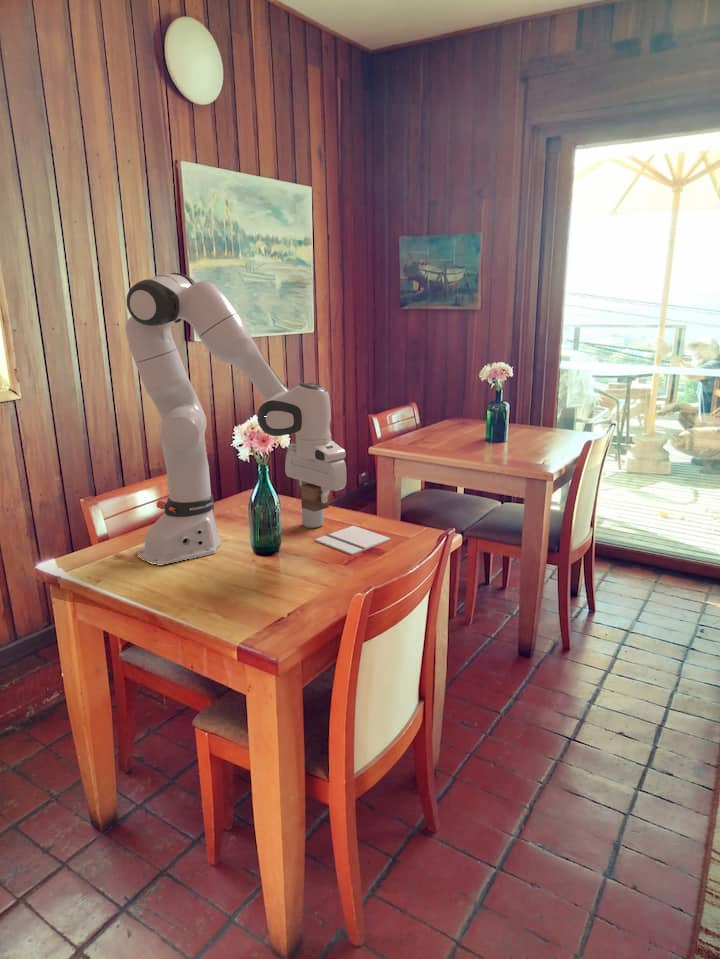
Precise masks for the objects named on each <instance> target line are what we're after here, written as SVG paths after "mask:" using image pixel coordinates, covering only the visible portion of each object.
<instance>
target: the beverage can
mask: <svg viewBox="0 0 720 959" xmlns="http://www.w3.org/2000/svg"><path fill="white" fill-rule="evenodd" d="M324 517H325V514H324V509H322V510H319V511H316V512H313V511H310V510H308V509H305V508H302V507H301V519H302V521H301V522H302V525H303V526H304V527H305V528H307V529H317V528H321V526H323V524H325V521H324V520H325V519H324Z"/></svg>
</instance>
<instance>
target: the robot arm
mask: <svg viewBox="0 0 720 959" xmlns="http://www.w3.org/2000/svg"><path fill="white" fill-rule="evenodd" d="M126 306H127V310H128V313H129V314H130V317H129V318H128V319H127V321H126V322H125V334H126V338H127V343H128V346H129V349H130V353H131V355H132V358H133V361H134V363H135V366H136V368H137V372H138V373H139V376H140V378H141V381H142V383H143V386H144V388H145V390H146V393H147V394H148V395H149V397H150V399H151V400H152V402H153V404H154V406H155V407H156V409H157V412H158V413H159V415H160V417H161V422H160V425H159V431H158V432H159V439H160V446H161V451H162V455H163V461H164V463H165V464H164V465H165V468H166V470H165V471H166V477H167V489H168V498H167V500H166V502H165V501H163V500H158V501H157V502H156V503H155V504H156V505H155V506H156V507H157V508H158V509H161V510H164V513H163V514H162V515H161V516H160V517H159V518H158V519H157V520H156V521H155V522H154V523H153V524H152V525H151V526H150V527H149V528H148V529H147V531H146V533H145V537H144V546H142V547H140V548H137V550H136V555H137V554H138V555H139V556H140V557H141V558H142V559H144V560H146V561H149V562H152V563H156V564H166V563H172V562H177V561H181V560H185V561H188V560H187V559H189V560H194V559H196V558H197V557H198V558H201V557H206V556H209V555H210V556H211V555H213V554H216V553H217V549H218V547H220V545H221V544H222V540H221V538H220V536H219V533H218V529H217V526H216V520H215V516H214V515H215V514H214V512H215V506H214V505H215V503H214V496H213V493H212V489H211V478H210V477H211V476H210V466H209V460H208V452H207V446H206V438H205V437H206V436H205V435H206V429H207V426H208V423H207V422H208V421H207V416H206V414H205V412H204V409H203V407H202V404H201V402H200V400H199V397H198V395H197V393H196V391H195V389H194V387H193V384H192V383H191V381H190V379H189V377H188V374H187V370H186V368H185V365H184V364H183V360H182V358H181V356H180V353H179V350H178V347H177V345H176V341H175V340H174V336H173V334H172V327H173V324H175V323H176V324H179V323H180V322H181V321H182V320H183V321H186V322H187V323H188V324H189V325H190V326H191V327H192V328H193V330H194V332H195V333H196V334H197V336H198V338H199V339H200V341H201V342H202V344H203V345H204V346H205V348H206V349H207V351H209V353H210V354H211V355H212V356H214V358H216V359H217V360H218V361H220V362H223V363H226V364H229V365H232V366H234V367H235V368H238V369H240V370H241V371H242V372H243V373H244V374H245V375H246V376H247V378H248V379H249V381H250V382H251V383H252V384H253V386H254V388H255V389H256V390H257V391H258V393H259V394H260V395H261V397H262V398H263V403H262V404H261V405H260V407H259V409H258V410H257V414H256V418H257V417H258V418H257V423H258V426H259V427H260V429H261V430H262V431H263V432H264V434H267V435H269V436H273V437H281V436H287V435H292V434H295V441H296V442H291V443H289V445H288V446H287V451H286V455H285V461H284V462H285V465H284V472H285V475H286V476H287V477H289V478H291V479H295V480H297V481H298V484H299V488H301V485H304V484H308V483H310V484H314V485H317V486H320V487H321V491H323V492H322V494H321V495H320V496H319V502H321V503H327V501H328V495H329V494H330V493H331V491H334V492H336V491H341V490H343V489H345V487H346V486H347V465H346V462H345V460H344V458H346V455H347V454H346V453H347V452H346V450H345V449H344V448H342V447H341V446H340V445H338V444H337V443H336V442H335V441H333V440H332V433H331V430H330V428H331V427H330V424H331V421H332V412H331V411H332V410H331V409H332V407H331V399H330V394H329V391H328V390H327V388H325V387H324V386H322V385H320V384H317V383H313V382H301V383H298V384H297V385H296V386H295V387H294V388H292V389H291V388H289V387H287V386H286V385H285V384H284V383H283V382H282V381H281V379H280V378H279V377H278V375H277V374H276V373H275V371H274V370H273V368H272V366H270V364H269V363H268V361H267V360H266V359H265V357H264V356H263V354H262V353H261V351H260V350H259V347H258V346H257V344H256V342H255V341H254V339H253V338H252V335H251V334H250V332H249V330H248V328H247V326H246V325H245V323H244V321H243V320H242V318H241V316H240V315H239V314H238V312H237V310H236V309H235V307H234V306H233V305H232V304H231V301H230V300H228V298H227V297H226V296H225V295H224V294H223V292H222V291H221V290H220V289H219V288H218V287H217V286H216V285H215V284H214V283H212V282H210V281H206V280H205V281H199V282H196V281H195V280H194V279H193V278H191V277H190V276H188V275H186V274H183V273H179V272H177V273H176V272H173V273H167V274H166V273H165V274H159V275H155V276H152V277H151V278H147V279H143V280H140V281H138V282H137V283H135V284H134V285H133V286H132V287H131V288H130V289H129V290H128V293H127V296H126ZM264 416H267V417H264ZM329 496H330V495H329ZM193 558H194V559H193ZM181 562H182V561H181ZM177 563H178V562H177Z"/></svg>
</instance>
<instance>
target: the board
mask: <svg viewBox="0 0 720 959" xmlns="http://www.w3.org/2000/svg"><path fill="white" fill-rule="evenodd" d="M391 540H392V539H391V537H388V536H386V535H383V534H379V533H376V532H373V531H370V530H369V529H365V528H362V527H358V526H355V525H351V526H348V527H345V528H342V529H340V530H336V531H334V532H332V533H328V534H325V535H323V536H320V537H317V538H315V539H314V541H315V542H316V543H318V544H319V543H320V544H322V545H325V546H328V547H330V548H333V549H336V550H338V551H339V552H342V553H346V554H348V555H351V556H354V555H357V554H359V553H361V552H363V551H366V550H369V549H371V548H373V547H376V546H379V545H381V544H384V543H387V542H389V541H391Z"/></svg>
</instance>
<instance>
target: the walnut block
mask: <svg viewBox="0 0 720 959" xmlns="http://www.w3.org/2000/svg"><path fill="white" fill-rule="evenodd" d="M300 492H301V494H300V495H301V497H300V499H301V509H302V508H305V509H308V510H310V511H313V512H316V511H319V510H322V509H323V510H325V509H328V508H330V505H329V504H330V503H329V502H330V500H329V497H330V495H328V501H327V503H321V502H319V496H320V495H321V494H322V492H323V491H321V487H320V486H317V485H314V484H310V483H307V484H304V485H301V487H300Z"/></svg>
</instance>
